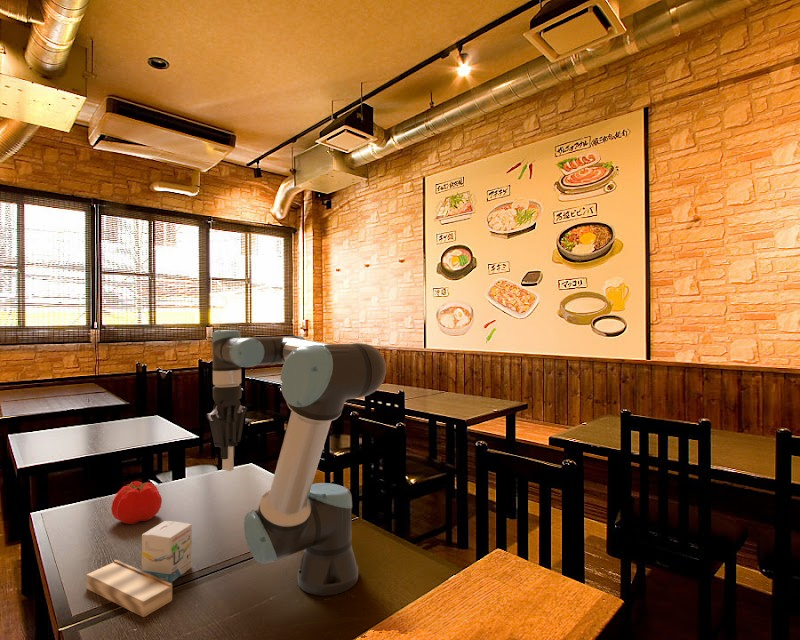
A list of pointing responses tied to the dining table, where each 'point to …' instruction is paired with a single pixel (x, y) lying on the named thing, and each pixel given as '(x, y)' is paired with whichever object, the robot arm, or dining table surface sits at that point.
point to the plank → (130, 587)
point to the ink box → (167, 550)
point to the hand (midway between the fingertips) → (227, 469)
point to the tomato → (136, 502)
